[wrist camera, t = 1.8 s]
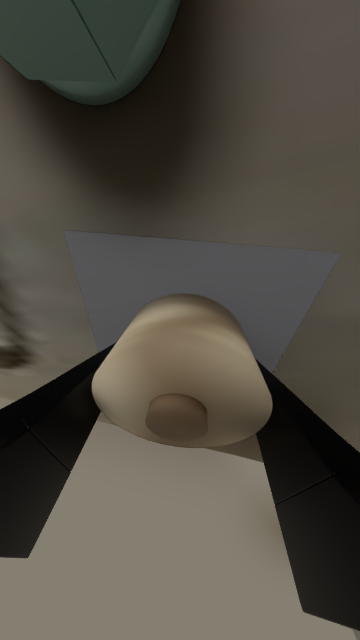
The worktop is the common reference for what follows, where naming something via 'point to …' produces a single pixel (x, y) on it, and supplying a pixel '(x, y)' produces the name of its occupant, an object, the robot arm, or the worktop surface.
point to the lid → (183, 376)
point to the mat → (198, 283)
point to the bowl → (85, 43)
